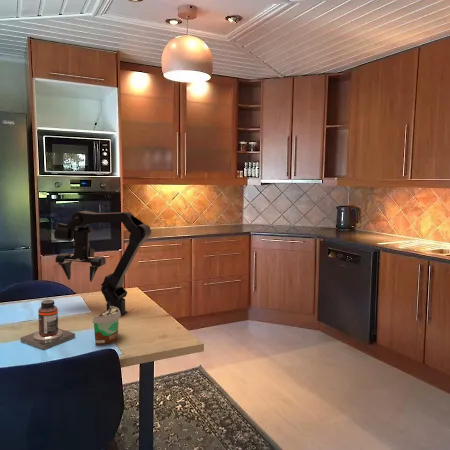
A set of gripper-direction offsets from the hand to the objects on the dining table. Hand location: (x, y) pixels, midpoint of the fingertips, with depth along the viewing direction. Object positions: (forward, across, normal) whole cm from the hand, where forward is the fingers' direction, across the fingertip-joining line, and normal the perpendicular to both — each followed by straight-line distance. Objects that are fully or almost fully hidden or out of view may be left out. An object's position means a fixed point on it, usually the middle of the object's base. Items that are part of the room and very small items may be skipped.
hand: (80, 280), depth 165 cm
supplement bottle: (+11, -3, +29) cm, 31 cm away
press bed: (+13, -3, +30) cm, 32 cm away
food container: (+12, -24, +27) cm, 38 cm away
